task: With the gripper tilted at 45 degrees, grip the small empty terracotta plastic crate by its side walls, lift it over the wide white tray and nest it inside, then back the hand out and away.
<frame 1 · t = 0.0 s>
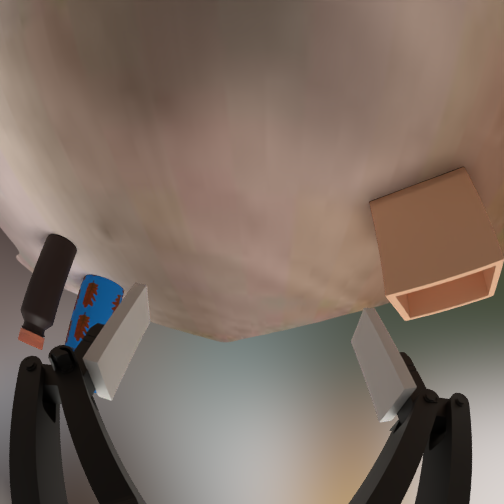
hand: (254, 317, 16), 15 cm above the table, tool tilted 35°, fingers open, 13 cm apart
bottle: (62, 242, 43), on the table
terracotta crate: (426, 210, 28), on the table
thermos: (104, 284, 58), on the table
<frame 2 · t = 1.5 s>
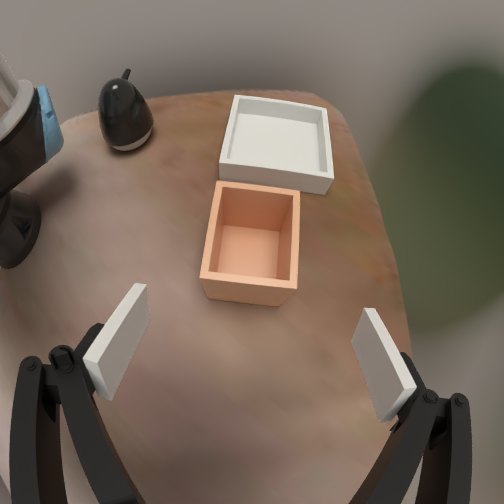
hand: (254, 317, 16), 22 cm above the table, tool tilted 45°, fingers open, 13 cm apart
pump dispenser: (132, 139, 48), on the table
white tray: (275, 148, 49), on the table
terracotta crate: (247, 262, 40), on the table
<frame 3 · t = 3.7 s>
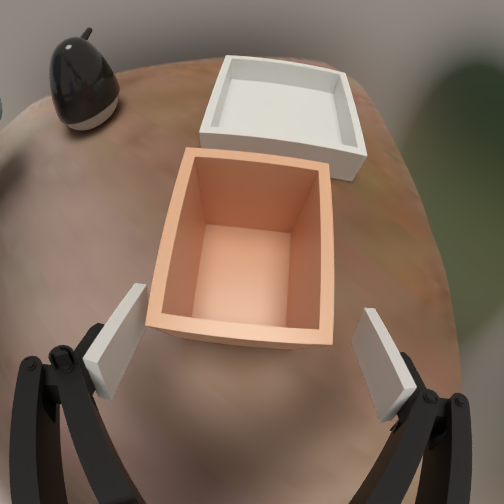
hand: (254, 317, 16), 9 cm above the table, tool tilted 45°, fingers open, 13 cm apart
pump dispenser: (96, 117, 34), on the table
white tray: (281, 120, 34), on the table
terracotta crate: (242, 281, 26), on the table
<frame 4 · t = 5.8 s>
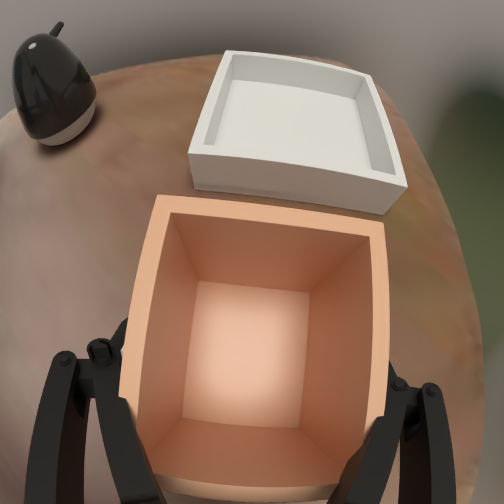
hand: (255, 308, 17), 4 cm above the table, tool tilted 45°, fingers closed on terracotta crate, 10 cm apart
pump dispenser: (71, 128, 27), on the table
white tray: (294, 132, 28), on the table
terracotta crate: (247, 357, 19), on the table, touching gripper
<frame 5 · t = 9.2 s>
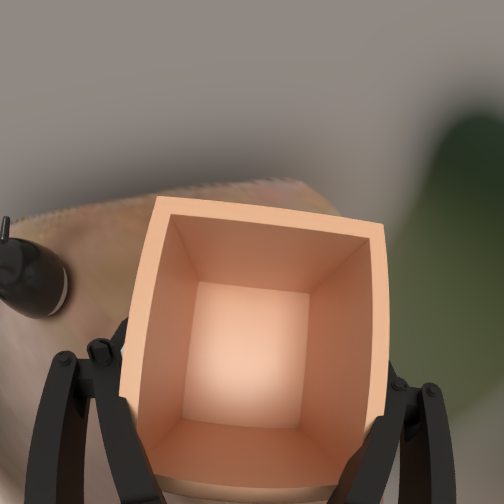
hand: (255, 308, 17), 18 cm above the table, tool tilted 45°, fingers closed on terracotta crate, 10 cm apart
pump dispenser: (52, 289, 33), on the table
terracotta crate: (247, 357, 19), point 14 cm above the table, touching gripper
when the fingers open (6 cm above the table, at t = 12.9 s): terracotta crate drops 1 cm, resting on white tray.
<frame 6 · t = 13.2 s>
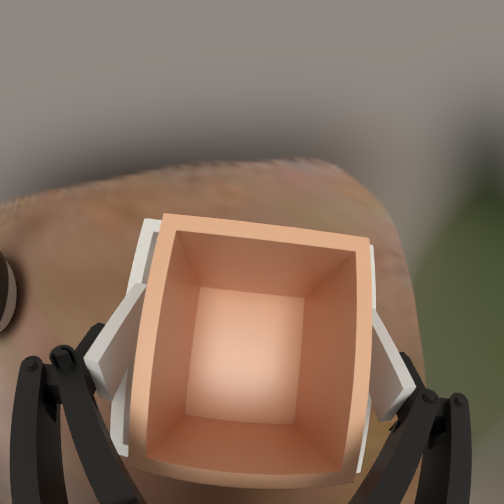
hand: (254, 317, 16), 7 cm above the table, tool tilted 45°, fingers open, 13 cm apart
pump dispenser: (3, 299, 21), on the table
white tray: (245, 356, 22), on the table
terracotta crate: (245, 357, 21), point 1 cm above the table, touching white tray
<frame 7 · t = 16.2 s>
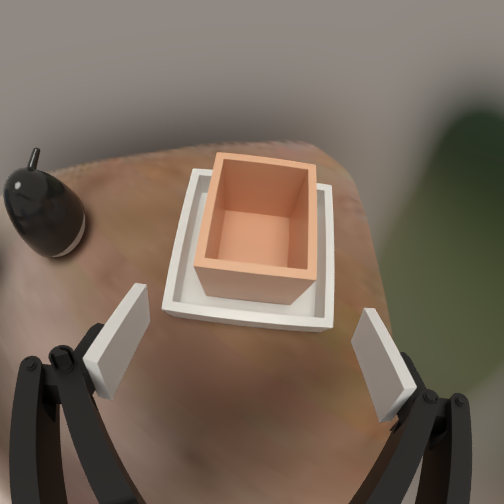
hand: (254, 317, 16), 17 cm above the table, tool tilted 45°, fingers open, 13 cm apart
pump dispenser: (68, 234, 35), on the table
white tray: (253, 255, 35), on the table
terracotta crate: (253, 253, 34), point 1 cm above the table, touching white tray
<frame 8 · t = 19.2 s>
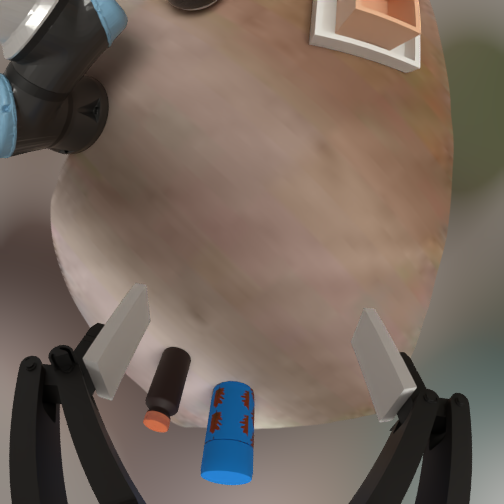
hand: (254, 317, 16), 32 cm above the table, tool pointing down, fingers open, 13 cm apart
bottle: (177, 356, 60), on the table
white tray: (362, 17, 31), on the table
terracotta crate: (364, 15, 30), point 1 cm above the table, touching white tray
thermos: (233, 392, 65), on the table
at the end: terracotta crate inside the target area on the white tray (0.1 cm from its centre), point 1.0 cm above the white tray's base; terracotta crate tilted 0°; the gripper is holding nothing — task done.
